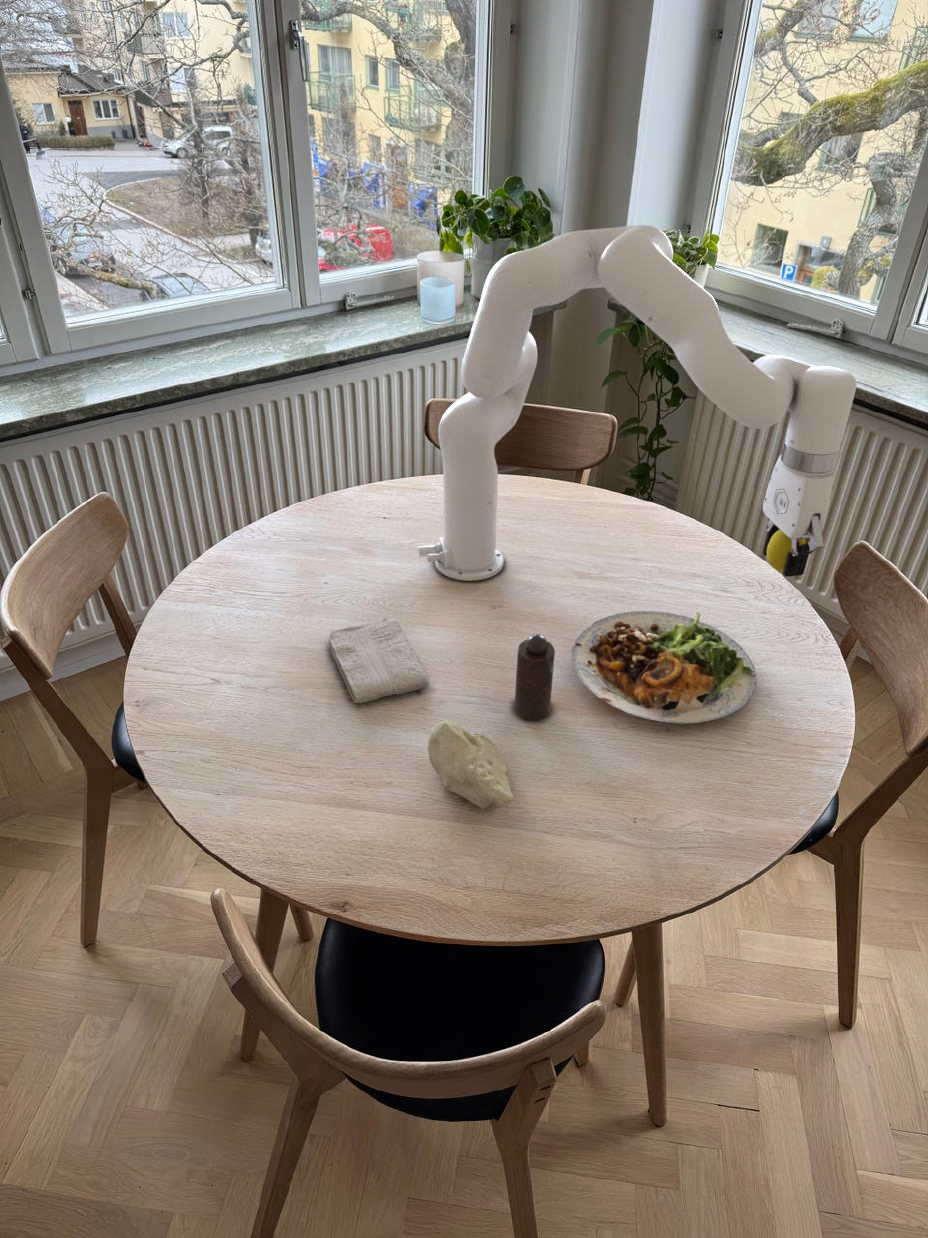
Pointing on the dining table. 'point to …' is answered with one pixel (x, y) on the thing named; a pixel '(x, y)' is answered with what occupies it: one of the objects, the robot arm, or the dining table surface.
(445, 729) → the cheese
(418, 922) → the dining table surface
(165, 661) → the dining table surface
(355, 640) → the washcloth
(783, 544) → the lemon
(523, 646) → the pepper mill
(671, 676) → the plate of food
